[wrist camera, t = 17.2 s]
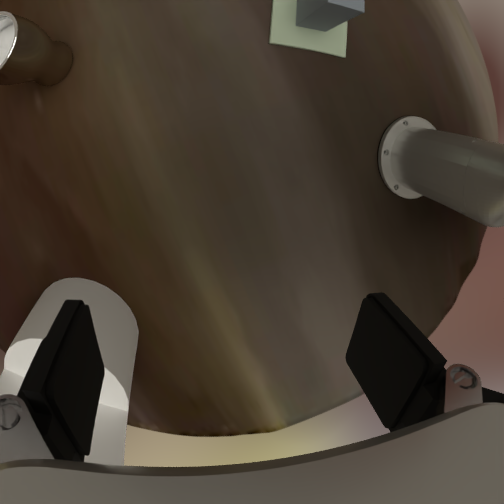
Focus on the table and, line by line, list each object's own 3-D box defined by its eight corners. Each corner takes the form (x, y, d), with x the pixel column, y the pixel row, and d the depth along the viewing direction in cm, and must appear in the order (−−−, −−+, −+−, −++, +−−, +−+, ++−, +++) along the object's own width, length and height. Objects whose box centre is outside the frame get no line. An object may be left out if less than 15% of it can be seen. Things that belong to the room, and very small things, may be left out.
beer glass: (52, 30, 25) (-7, 0, 12) (87, 53, 28) (33, 24, 14) (21, 75, 27) (-48, 67, 13) (54, 99, 29) (-13, 96, 16)
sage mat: (346, -4, 30) (348, -6, 29) (343, 57, 34) (345, 57, 33) (274, -21, 28) (275, -23, 27) (268, 43, 32) (269, 42, 31)
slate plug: (326, 6, 30) (363, -18, 21) (325, 31, 31) (364, 12, 22) (296, 0, 29) (328, -29, 20) (295, 25, 31) (327, 2, 22)
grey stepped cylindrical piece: (128, 377, 48) (116, 527, 23) (37, 347, 43) (-14, 483, 18) (150, 298, 43) (131, 484, 18) (41, 262, 37) (-57, 411, 12)
